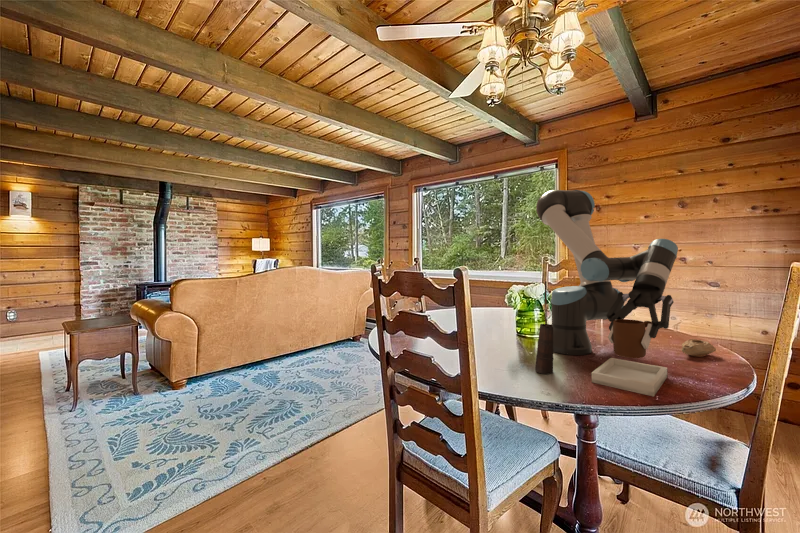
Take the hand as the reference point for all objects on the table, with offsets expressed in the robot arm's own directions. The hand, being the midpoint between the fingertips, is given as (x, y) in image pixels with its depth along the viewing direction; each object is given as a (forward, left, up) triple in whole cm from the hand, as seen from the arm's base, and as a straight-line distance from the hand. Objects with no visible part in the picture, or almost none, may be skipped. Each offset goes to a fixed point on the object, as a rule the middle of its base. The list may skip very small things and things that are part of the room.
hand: (627, 343), depth 96 cm
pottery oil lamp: (+10, +44, -12) cm, 46 cm away
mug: (+2, +3, -4) cm, 5 cm away
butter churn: (-20, -6, -12) cm, 24 cm away
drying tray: (0, +4, -11) cm, 12 cm away
